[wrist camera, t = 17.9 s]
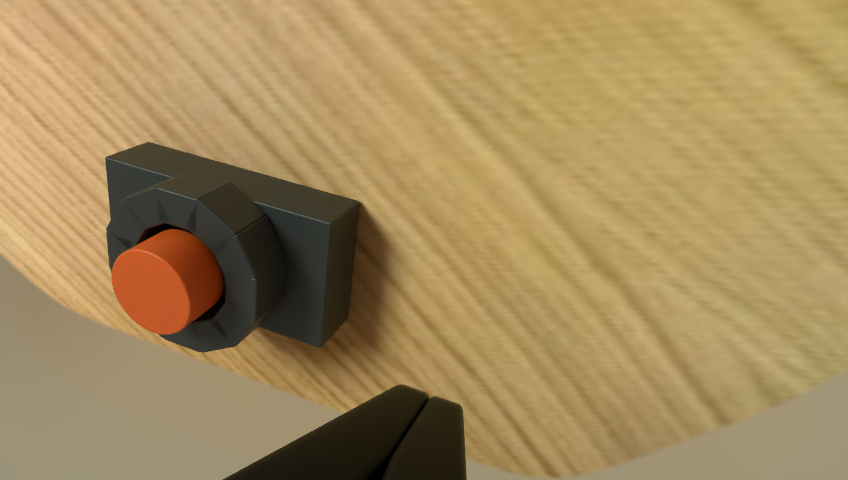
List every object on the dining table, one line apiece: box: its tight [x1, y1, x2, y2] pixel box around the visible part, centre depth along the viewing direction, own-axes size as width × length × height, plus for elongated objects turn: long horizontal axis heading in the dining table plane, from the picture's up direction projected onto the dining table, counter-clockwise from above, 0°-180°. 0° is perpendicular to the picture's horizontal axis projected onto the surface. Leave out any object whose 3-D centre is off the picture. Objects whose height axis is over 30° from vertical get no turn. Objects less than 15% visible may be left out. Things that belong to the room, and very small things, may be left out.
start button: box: [112, 229, 224, 335], centre depth 21 cm, size 3×3×2 cm
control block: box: [105, 142, 359, 352], centre depth 23 cm, size 9×6×4 cm, turn 81°
